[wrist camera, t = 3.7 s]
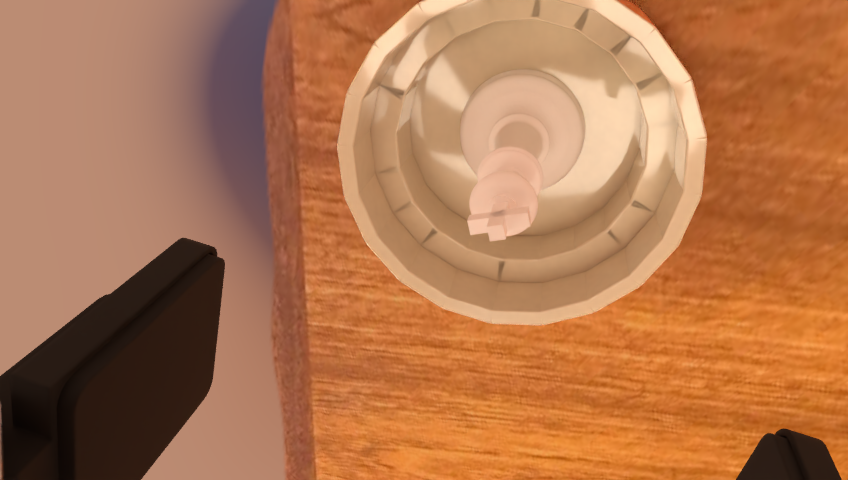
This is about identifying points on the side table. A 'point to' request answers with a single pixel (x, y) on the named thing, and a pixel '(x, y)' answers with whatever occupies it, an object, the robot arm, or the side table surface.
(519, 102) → the chess piece
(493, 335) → the side table surface
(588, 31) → the bowl
